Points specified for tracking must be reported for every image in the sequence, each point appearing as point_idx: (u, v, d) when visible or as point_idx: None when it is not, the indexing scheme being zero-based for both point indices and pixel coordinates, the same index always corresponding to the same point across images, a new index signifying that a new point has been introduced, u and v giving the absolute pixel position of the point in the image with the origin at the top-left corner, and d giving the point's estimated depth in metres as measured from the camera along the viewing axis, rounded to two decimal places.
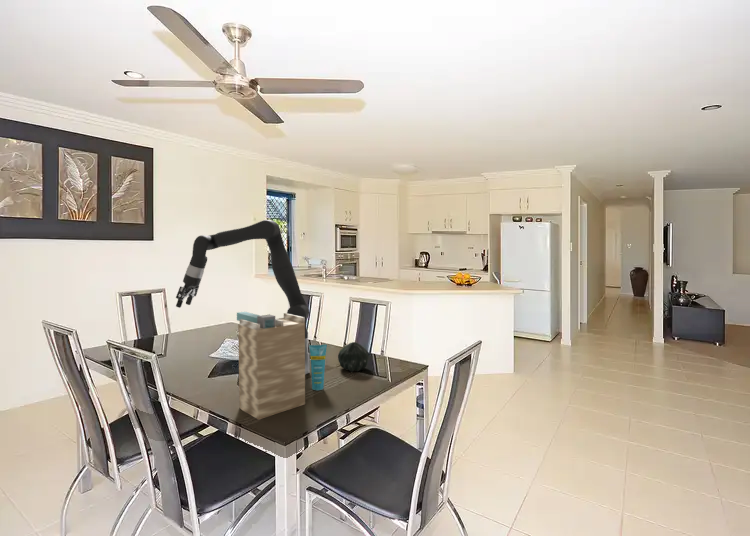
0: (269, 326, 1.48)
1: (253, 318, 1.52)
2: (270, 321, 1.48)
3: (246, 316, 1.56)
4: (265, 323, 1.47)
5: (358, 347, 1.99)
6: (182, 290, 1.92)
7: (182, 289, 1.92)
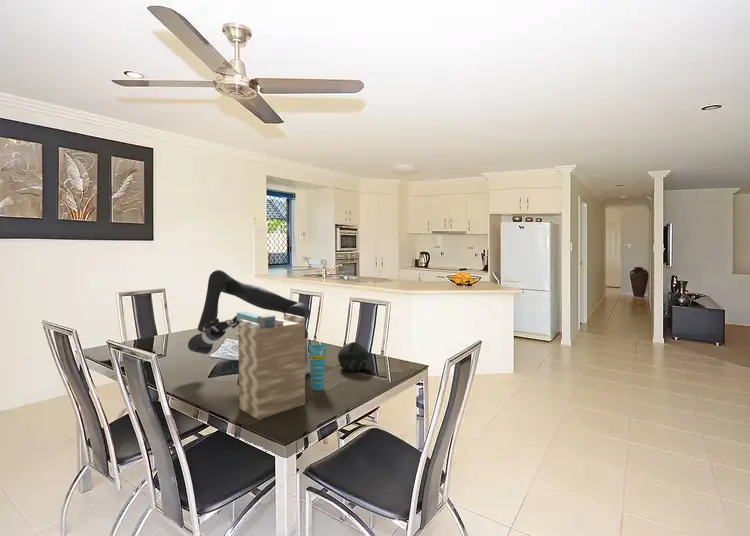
0: (269, 326, 1.48)
1: (253, 318, 1.52)
2: (270, 321, 1.48)
3: (246, 316, 1.56)
4: (265, 323, 1.47)
5: (358, 347, 1.99)
6: (203, 327, 1.72)
7: (203, 328, 1.72)
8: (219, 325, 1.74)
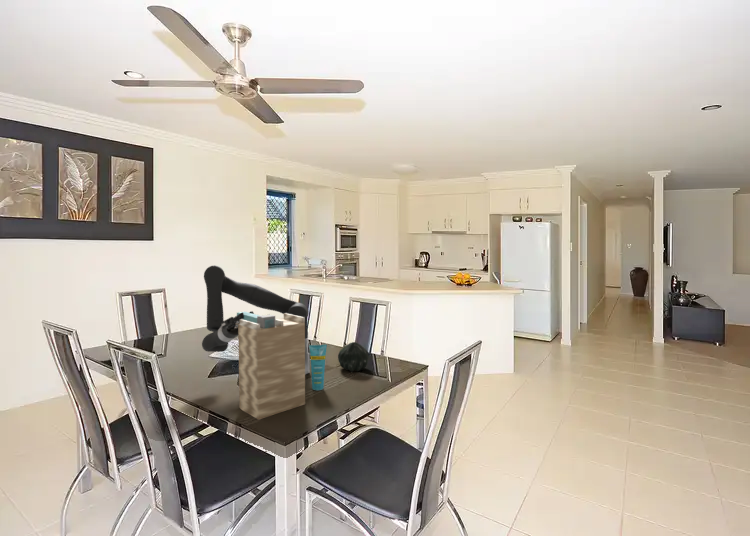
0: (269, 326, 1.48)
1: (253, 318, 1.52)
2: (270, 321, 1.48)
3: (246, 316, 1.56)
4: (265, 323, 1.47)
5: (358, 347, 1.99)
6: (223, 323, 1.60)
7: (222, 323, 1.60)
8: (239, 322, 1.63)
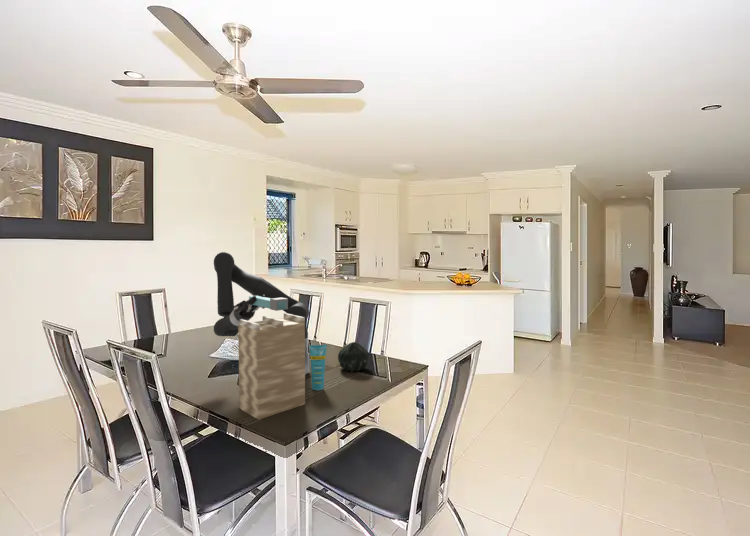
0: (282, 308, 1.51)
1: (266, 301, 1.56)
2: (283, 303, 1.52)
3: (259, 299, 1.59)
4: (278, 305, 1.50)
5: (358, 347, 1.99)
6: (235, 306, 1.63)
7: (235, 307, 1.63)
8: (251, 305, 1.67)
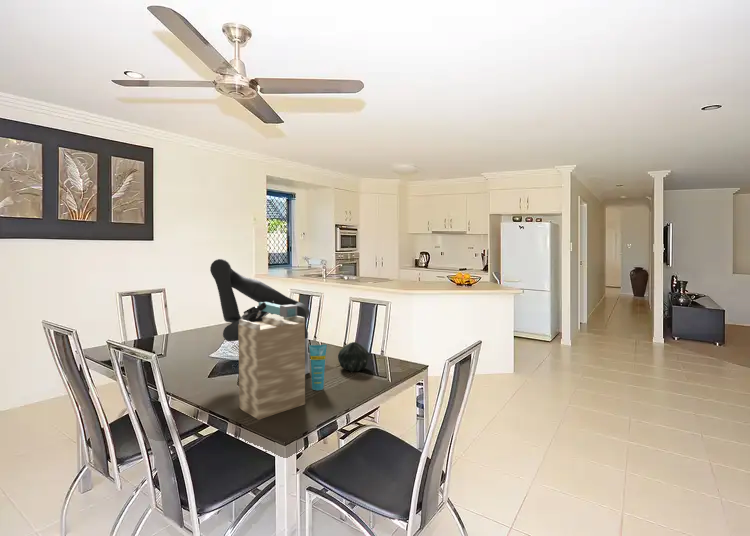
0: (291, 315, 1.55)
1: (275, 307, 1.59)
2: (292, 310, 1.55)
3: (268, 306, 1.62)
4: (287, 312, 1.53)
5: (358, 347, 1.99)
6: (245, 312, 1.66)
7: (245, 313, 1.67)
8: (261, 311, 1.70)
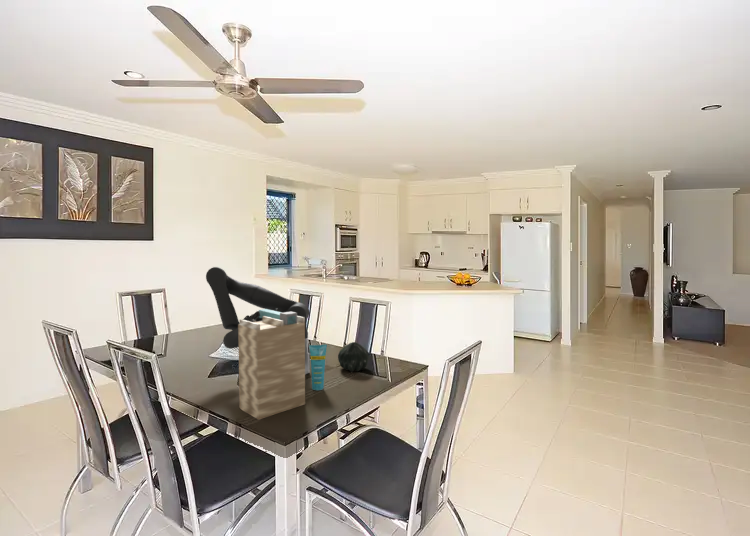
0: (291, 322, 1.55)
1: (275, 315, 1.59)
2: (292, 318, 1.55)
3: (268, 313, 1.63)
4: (287, 319, 1.54)
5: (358, 347, 1.99)
6: None
7: None
8: (258, 318, 1.69)
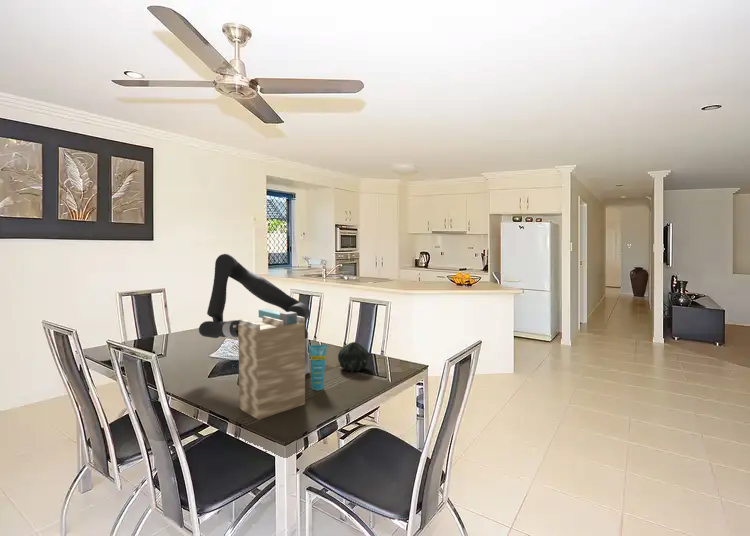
0: (291, 322, 1.55)
1: (275, 315, 1.59)
2: (292, 318, 1.55)
3: (268, 313, 1.63)
4: (287, 319, 1.54)
5: (358, 347, 1.99)
6: (234, 325, 1.74)
7: (234, 325, 1.75)
8: None
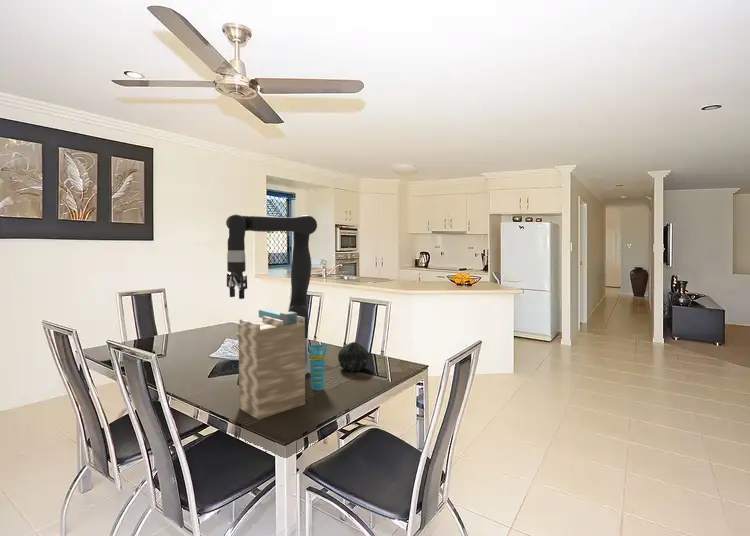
0: (291, 322, 1.55)
1: (275, 315, 1.59)
2: (292, 318, 1.55)
3: (268, 313, 1.63)
4: (287, 319, 1.54)
5: (358, 347, 1.99)
6: (245, 278, 1.75)
7: (245, 277, 1.75)
8: None
